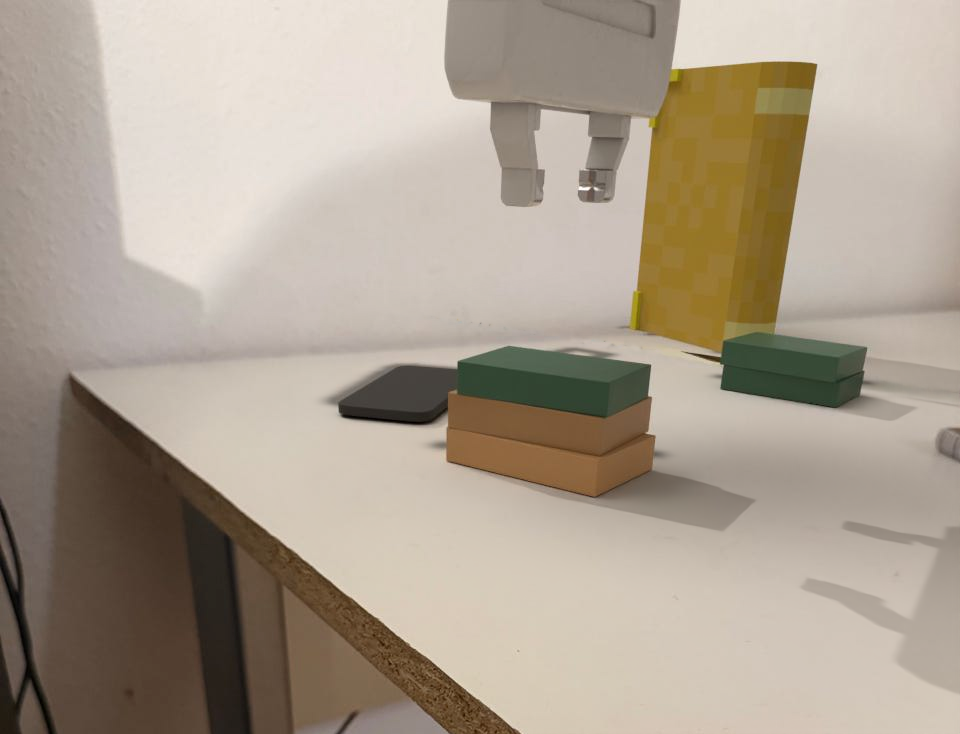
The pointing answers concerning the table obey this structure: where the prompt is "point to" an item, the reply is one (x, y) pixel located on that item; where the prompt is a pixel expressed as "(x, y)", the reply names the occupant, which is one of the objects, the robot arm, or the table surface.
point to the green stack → (793, 368)
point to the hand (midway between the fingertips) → (561, 204)
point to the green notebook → (554, 380)
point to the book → (721, 201)
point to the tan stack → (550, 443)
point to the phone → (403, 394)
